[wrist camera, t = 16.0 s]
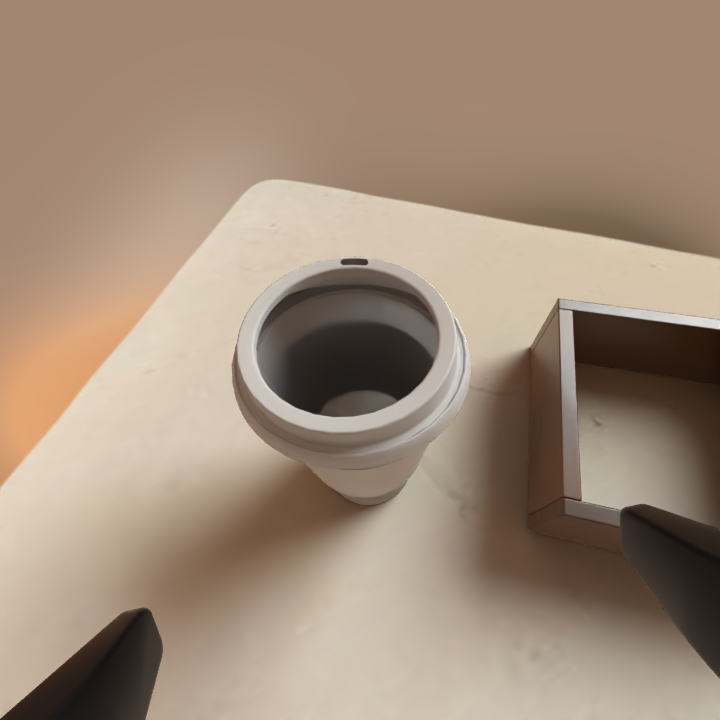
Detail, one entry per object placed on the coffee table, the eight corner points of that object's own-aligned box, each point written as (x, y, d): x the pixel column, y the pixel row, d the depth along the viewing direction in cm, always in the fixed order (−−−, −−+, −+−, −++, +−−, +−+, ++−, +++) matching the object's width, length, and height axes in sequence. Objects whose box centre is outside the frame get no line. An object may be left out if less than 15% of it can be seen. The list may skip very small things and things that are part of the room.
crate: (795, 596, 16) (922, 598, 12) (526, 530, 18) (563, 515, 14) (732, 376, 21) (806, 330, 18) (530, 345, 23) (558, 298, 20)
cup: (434, 407, 22) (472, 246, 11) (435, 533, 18) (491, 463, 8) (313, 401, 22) (248, 245, 12) (293, 520, 19) (179, 442, 9)
